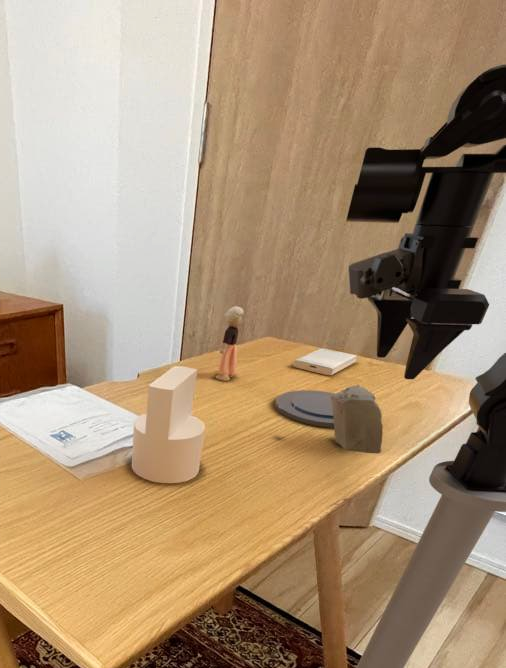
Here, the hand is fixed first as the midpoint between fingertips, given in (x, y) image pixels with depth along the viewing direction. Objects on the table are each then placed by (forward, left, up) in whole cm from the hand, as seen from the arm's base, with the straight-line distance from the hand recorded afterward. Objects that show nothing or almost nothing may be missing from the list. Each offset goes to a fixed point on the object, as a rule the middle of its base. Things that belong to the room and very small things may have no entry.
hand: (393, 367), depth 64 cm
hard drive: (-6, -41, -12) cm, 43 cm away
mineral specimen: (+2, -2, -12) cm, 12 cm away
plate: (+2, -15, -12) cm, 19 cm away
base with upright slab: (+29, +8, -12) cm, 32 cm away
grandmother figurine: (+16, -31, -12) cm, 37 cm away
